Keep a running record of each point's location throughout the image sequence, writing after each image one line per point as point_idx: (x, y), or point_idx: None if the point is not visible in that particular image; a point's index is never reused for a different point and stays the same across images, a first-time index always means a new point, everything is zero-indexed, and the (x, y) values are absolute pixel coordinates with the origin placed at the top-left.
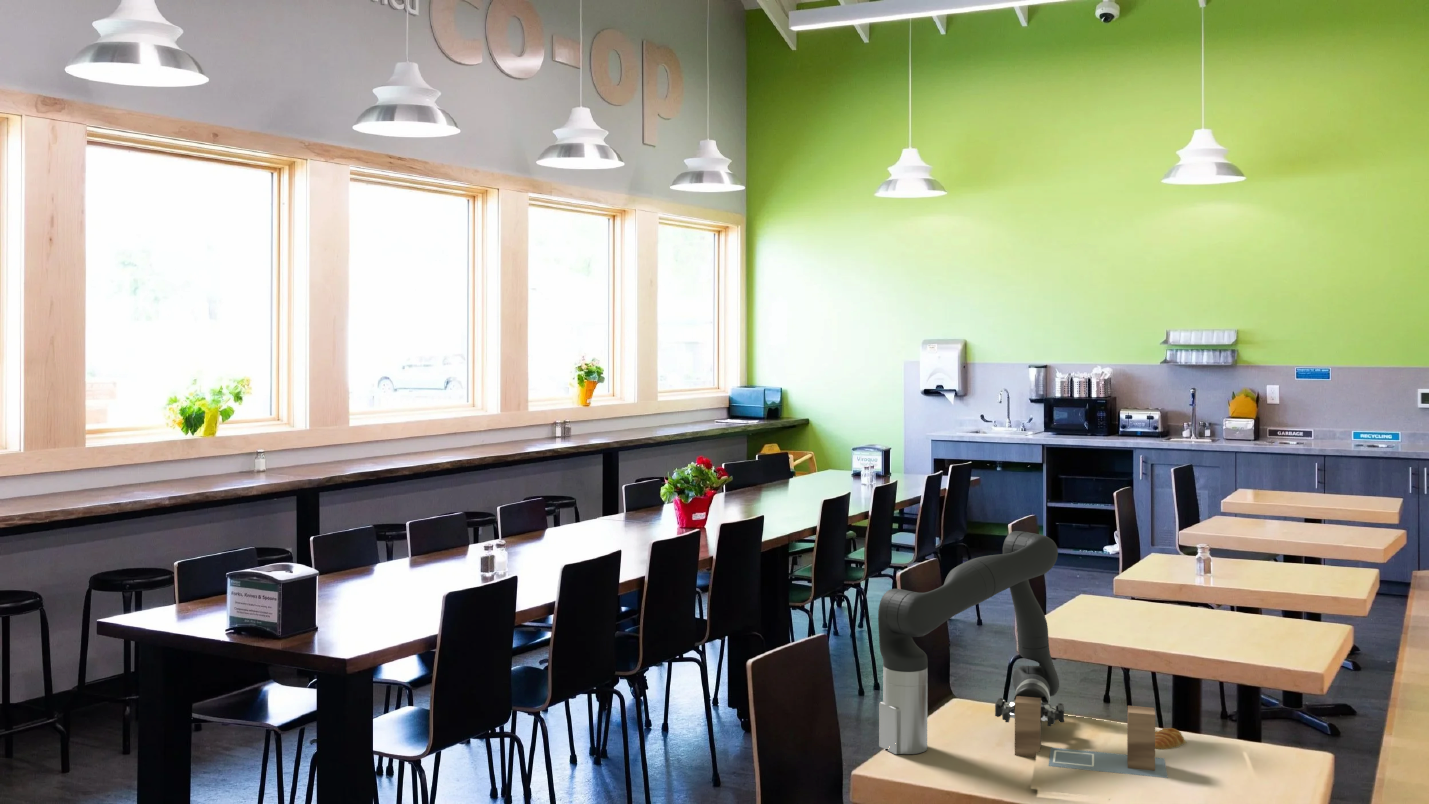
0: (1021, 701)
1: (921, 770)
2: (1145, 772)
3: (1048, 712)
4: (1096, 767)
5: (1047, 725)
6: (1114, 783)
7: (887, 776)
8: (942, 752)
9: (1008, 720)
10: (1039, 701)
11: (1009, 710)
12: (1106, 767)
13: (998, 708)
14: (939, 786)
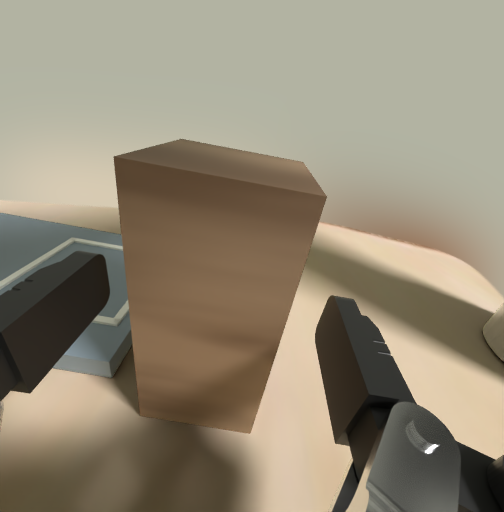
0: (272, 159)
1: (405, 265)
2: None
3: (32, 302)
4: (67, 237)
5: (109, 295)
6: (70, 222)
7: (427, 252)
8: (450, 347)
9: (318, 323)
10: (166, 145)
11: (349, 348)
12: (38, 236)
13: (486, 460)
14: (348, 231)
